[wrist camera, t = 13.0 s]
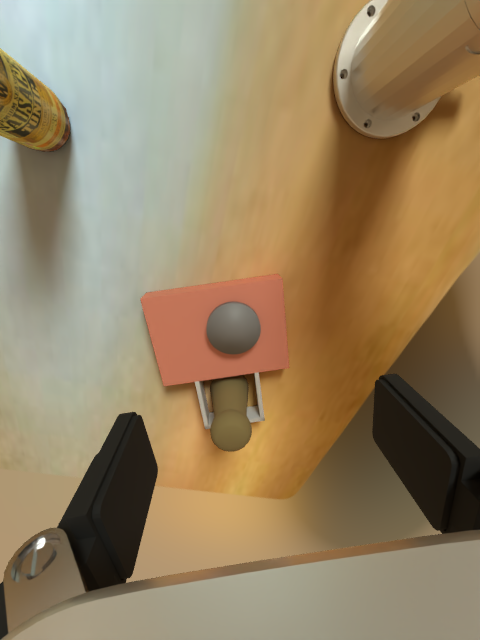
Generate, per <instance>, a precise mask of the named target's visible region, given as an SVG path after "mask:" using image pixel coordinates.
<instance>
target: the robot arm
mask: <svg viewBox="0 0 480 640" xmlns="http://www.w3.org/2000/svg"><path fill="white" fill-rule="evenodd" d="M340 75H341V76H342V78H343V79H341V78H340ZM477 76H480V0H371V1H369V2H368V3H367V4H366V5H365V6H364V7H363V8H362V9H361V10H360V11H359V13H358V14H357V15H356V16H355V17H354V19H353V20H352V22H351V23H350V25H349V26H348V28H347V30H346V32H345V34H344V36H343V38H342V40H341V42H340V45H339V48H338V51H337V54H336V59H335V64H334V76H333V84H334V92H335V97H336V101H337V104H338V107H339V109H340V111H341V113H342V115H343V117H344V119H345V120H346V121H347V122H348V124H349V125H350V126H351V127H352V128H354V129H355V130H356V131H357V132H359V133H361V134H363V135H365V136H367V137H372V138H376V139H380V138H390V137H394V136H398V135H400V134H402V133H404V132H407V131H408V130H410V129H412V128H413V127H415V126H417V125H418V124H419V123H420V122H421V121H422V120H424V119H425V118H426V117H427V115H428V114H429V113H430V112H431V111H432V110H433V108H434V107H435V105H436V104H437V102H438V101H439V99H440V98H441V96H442V95H444V94H446V93H448V92H449V91H451V90H453V89H455V88H457V87H459V86H460V85H462V84H464V83H466V82H468V81H469V80H471V79H473V78H475V77H477ZM412 118H413V120H412ZM364 124H366V128H365V127H364ZM373 438H374V440H375V442H376V444H377V445H378V447H379V448H380V450H381V451H382V453H383V454H384V456H385V457H386V459H387V460H388V462H389V463H390V465H391V466H392V468H393V469H394V471H395V472H396V473H397V475H398V476H399V478H400V479H401V481H402V482H403V484H404V485H405V487H406V488H407V490H408V491H409V493H410V494H411V496H412V497H413V499H414V500H415V502H416V503H417V505H418V506H419V507H420V509H421V510H422V512H423V513H424V515H425V516H426V518H427V519H428V521H429V522H430V524H431V525H432V526H433V528H435V529H436V530H440V531H441V533H442V534H438V535H430V536H422V537H415V538H408V539H402V540H395V541H388V542H381V543H375V544H368V545H360V546H354V547H347V548H340V549H334V550H327V551H320V552H314V553H308V554H301V555H294V556H288V557H281V558H275V559H268V560H262V561H256V562H249V563H242V564H236V565H230V566H224V567H217V568H211V569H205V570H199V571H192V572H187V573H180V574H174V575H168V576H162V577H156V578H151V579H145V580H140V581H134V582H129V583H126V579H127V578H130V577H131V576H132V574H133V570H134V566H135V562H136V558H137V554H138V550H139V546H140V542H141V538H142V534H143V530H144V526H145V522H146V518H147V514H148V510H149V506H150V502H151V498H152V494H153V490H154V486H155V482H156V478H157V473H158V467H157V463H156V460H155V457H154V454H153V450H152V447H151V444H150V441H149V438H148V435H147V432H146V428H145V425H144V422H143V419H142V416H141V415H137V414H136V412H130V413H123V414H120V415H119V416H118V417H117V419H116V421H115V423H114V425H113V427H112V429H111V431H110V433H109V434H108V436H107V438H106V440H105V442H104V444H103V446H102V448H101V450H100V452H99V453H98V454H97V455H96V456H95V457H94V459H93V461H92V463H91V464H90V466H89V468H88V470H87V472H86V474H85V476H84V478H83V480H82V481H81V483H80V485H79V487H78V489H77V491H76V493H75V495H74V497H73V498H72V500H71V502H70V504H69V506H68V508H67V510H66V512H65V514H64V516H63V517H62V520H61V521H60V523H59V525H58V527H57V528H49V529H46V530H44V531H41V532H40V533H38V534H36V535H34V536H33V537H31V538H30V539H29V540H28V541H26V542H25V543H24V544H23V545H22V546H21V547H20V548H19V549H18V550H17V551H16V552H15V554H14V555H13V557H12V558H11V560H10V561H9V562H8V565H7V567H6V570H5V572H4V579H3V582H2V583H1V584H0V640H480V449H479V448H478V447H477V446H476V445H475V444H474V443H473V442H472V441H470V440H469V439H468V438H467V437H466V436H465V435H464V434H463V433H462V432H460V431H459V430H458V429H457V428H456V427H455V426H454V425H453V424H452V423H450V422H449V421H448V420H447V419H446V418H445V417H444V416H443V415H442V414H440V413H439V412H438V411H437V410H436V409H435V408H434V407H433V406H432V405H431V404H430V403H428V402H427V401H426V400H425V399H424V398H423V397H422V396H421V395H420V394H419V393H417V392H416V391H415V390H414V389H413V388H412V387H411V386H410V385H409V384H407V383H406V382H405V381H404V380H403V379H402V378H401V377H400V376H399V375H397V374H389V375H382V376H380V377H379V380H376V382H375V395H374V414H373Z"/></svg>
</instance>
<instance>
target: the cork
mask: <svg viewBox="0 0 480 640" xmlns="http://www.w3.org/2000/svg"><path fill="white" fill-rule="evenodd" d="M210 389H211V397H212V404H213V410H214V417H215V418H214V419H213V421H212V424H211V428H210V433H211V438H212V440H213V442H214V444H215V445H216V446H217V447H218V448H220V449H222V450H224V451H237V450H240V449H241V448H243V447H244V446H245V445H246V444H247V443H248V442H249V440H250V437H251V433H252V428H251V423H250V421H249V419H248V417H247V416H246V415H247V402H248V382H247V379H246V378H245V377H244V376H243V375H238V376H231V377H224V378H217V379H213V380H212V382H211V385H210Z"/></svg>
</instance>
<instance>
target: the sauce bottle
mask: <svg viewBox="0 0 480 640" xmlns="http://www.w3.org/2000/svg"><path fill="white" fill-rule="evenodd" d="M69 134H70V123H69V117H68V115H67V112H66V108H65V107H64V106H63V105H62V103H61V102H60V101H59V99H58V98H57V96H56V95H55V94H54V93H53V92H52V91H51V90H50V89H49V88H48V87H47V86H46V85H44V84H43V83H42V82H41V81H39V80H38V79H37V78H36V77H34V76H33V75H32V74H31V73H30V72H28V71H27V70H26V69H25V68H24V67H22V66H21V65H20V64H19V63H18V62H16V61H15V60H14V59H13V58H12V57H10V56H9V55H8V54H7V53H5V52H4V51H3V50H2V49H0V136H3V137H5V138H7V139H10V140H12V141H15V142H17V143H19V144H22V145H24V146H26V147H29V148H32V149H36V150H39V151H44V152H45V151H48V152H49V151H54V150H58V149H59V148H60V147H62V146H63V145H64V144H65V142H66V141H67V140H68V136H69Z"/></svg>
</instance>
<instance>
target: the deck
mask: <svg viewBox="0 0 480 640" xmlns="http://www.w3.org/2000/svg"><path fill="white" fill-rule="evenodd" d="M140 300H141V304H142V307H143V311H144V315H145V318H146V322H147V326H148V329H149V333H150V337H151V340H152V344H153V348H154V352H155V355H156V359H157V363H158V366H159V370H160V374H161V377H162V381H163V385H164V386H169V385H176V384H183V383H190V382H195V386H196V390H197V395H198V399H199V404H200V408H201V413H202V417H203V422H204V426H205V429H210V428H211V424H212V421H213V419H214V418H215V417H214V412H210V413H209V409H208V404H207V399H206V395H205V390H204V385H203V380H210V379H217V378H224V377H231V376H238V375H244V374H251V373H254V379H255V386H256V394H257V402H258V405H257V406H250V407H247V415H246V416H247V417H248V419H249V421H250V423H251V422H258V421H265V419H264V411H263V403H262V395H261V387H260V379H259V372H265V371H272V370H279V369H285V368H289V358H288V345H287V332H286V319H285V306H284V293H283V279H282V278H281V277H280V276H279V275H278V274H274V275H267V276H260V277H253V278H246V279H239V280H232V281H225V282H218V283H211V284H204V285H197V286H190V287H183V288H176V289H169V290H162V291H155V292H148V293H146V294H145V295H144V296H143V297H142V298H141V299H140Z"/></svg>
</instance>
